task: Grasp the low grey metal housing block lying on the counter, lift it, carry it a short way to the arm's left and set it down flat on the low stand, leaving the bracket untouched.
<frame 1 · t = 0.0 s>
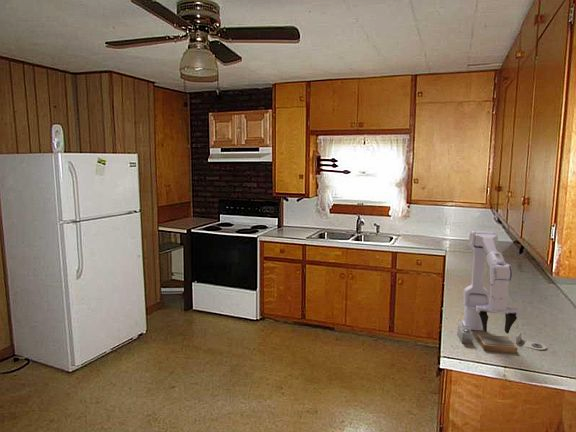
hand: (495, 331, 153), 10 cm above the worktop, fingers open, 7 cm apart
stand: (496, 345, 163), on the worktop
housing: (464, 339, 169), on the worktop
bracket: (530, 346, 165), on the worktop
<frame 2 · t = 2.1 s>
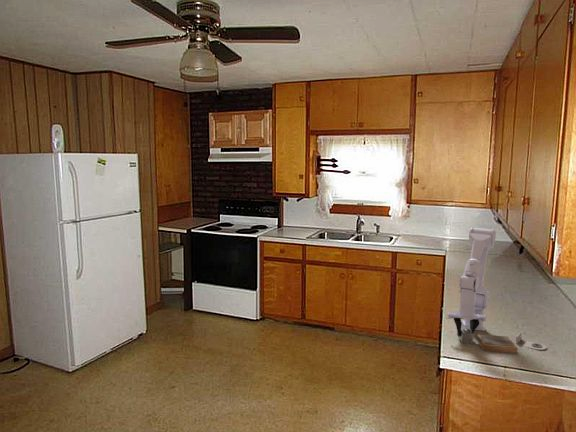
hand: (464, 335, 169), 1 cm above the worktop, fingers closed on housing, 4 cm apart
housing: (464, 339, 169), on the worktop, touching gripper
everything else where it was.
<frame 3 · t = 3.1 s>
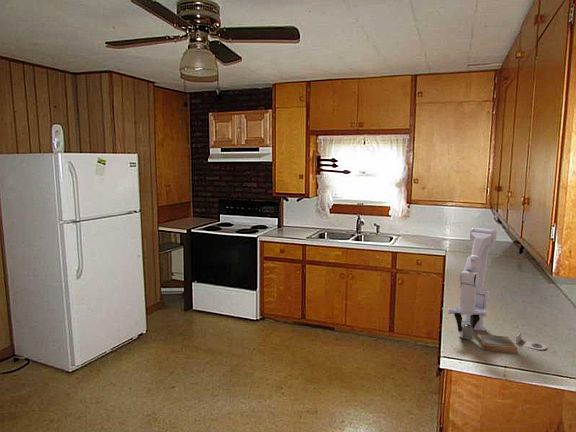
hand: (465, 331, 169), 3 cm above the worktop, fingers closed on housing, 4 cm apart
housing: (464, 334, 169), point 2 cm above the worktop, touching gripper
everything else where it was.
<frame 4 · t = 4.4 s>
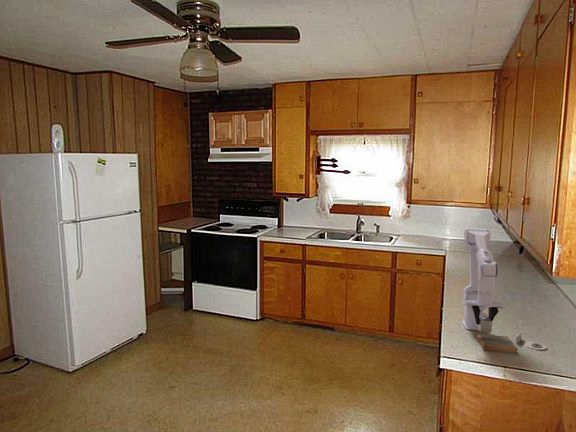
hand: (483, 324, 165), 8 cm above the worktop, fingers closed on housing, 4 cm apart
housing: (482, 327, 165), point 6 cm above the worktop, touching gripper
everything else where it was.
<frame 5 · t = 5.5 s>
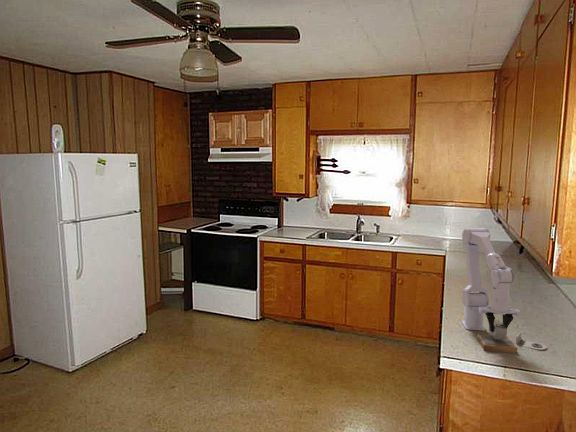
hand: (497, 331, 163), 6 cm above the worktop, fingers closed on housing, 4 cm apart
housing: (497, 334, 163), point 5 cm above the worktop, touching gripper
everything else where it was.
when the fingers open (5 cm above the worktop, at t = 6.6 s): housing stays where it is, resting on stand.
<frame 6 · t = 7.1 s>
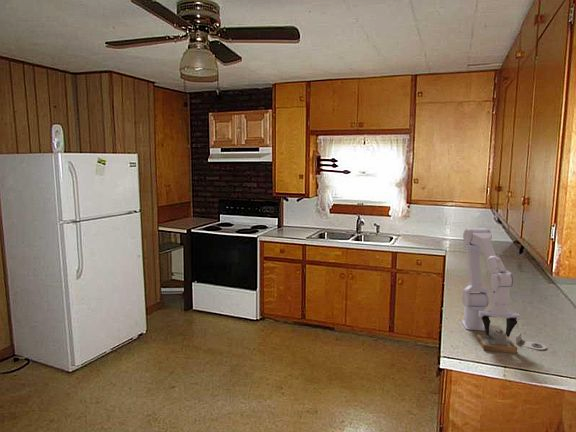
hand: (497, 334, 163), 5 cm above the worktop, fingers open, 7 cm apart
housing: (496, 340, 163), point 2 cm above the worktop, touching stand
everything else where it was.
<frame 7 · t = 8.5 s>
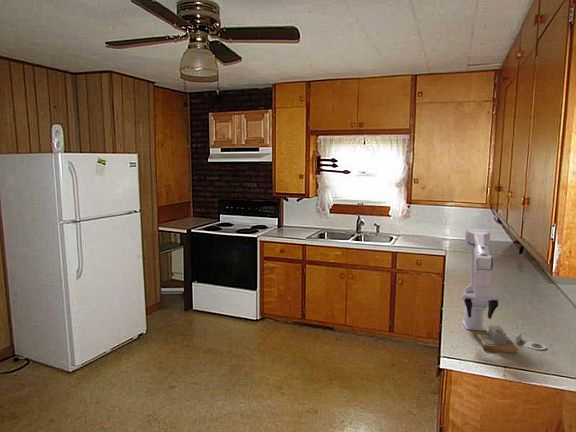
hand: (479, 317, 167), 10 cm above the worktop, fingers open, 7 cm apart
nothing on the worktop moved.
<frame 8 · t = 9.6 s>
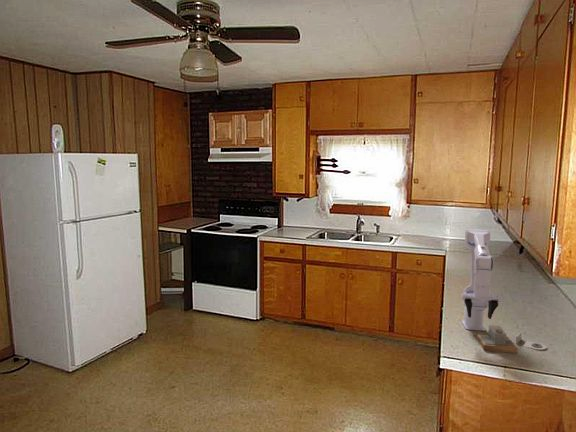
hand: (479, 317, 167), 10 cm above the worktop, fingers open, 7 cm apart
nothing on the worktop moved.
at the end: housing inside the target area on the stand (0.1 cm from its centre), point 2.4 cm above the stand's base; housing tilted 0°; the gripper is holding nothing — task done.
